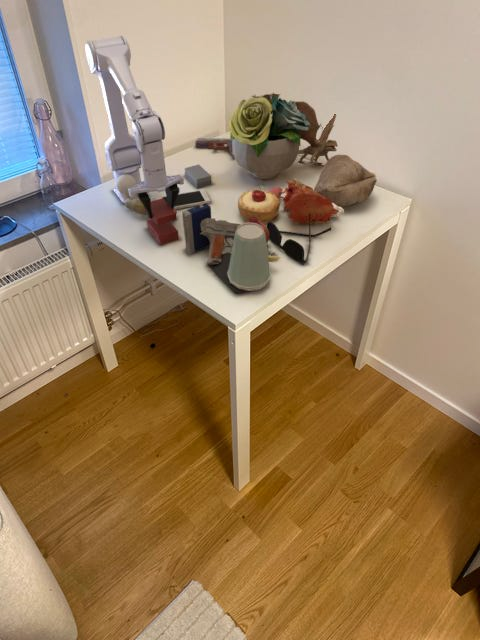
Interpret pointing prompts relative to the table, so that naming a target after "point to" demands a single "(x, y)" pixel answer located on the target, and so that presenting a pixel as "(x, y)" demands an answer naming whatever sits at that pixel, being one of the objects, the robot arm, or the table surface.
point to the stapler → (338, 210)
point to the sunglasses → (291, 241)
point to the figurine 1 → (136, 206)
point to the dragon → (316, 146)
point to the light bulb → (125, 185)
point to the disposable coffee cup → (249, 258)
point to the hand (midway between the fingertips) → (160, 213)
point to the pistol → (217, 237)
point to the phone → (225, 272)
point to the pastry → (258, 205)
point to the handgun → (215, 144)
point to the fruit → (255, 220)
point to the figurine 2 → (278, 192)
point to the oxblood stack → (163, 232)
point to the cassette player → (195, 227)
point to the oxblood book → (162, 212)
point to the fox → (273, 258)
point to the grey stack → (198, 176)
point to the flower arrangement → (266, 134)
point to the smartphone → (189, 199)
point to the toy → (270, 251)
